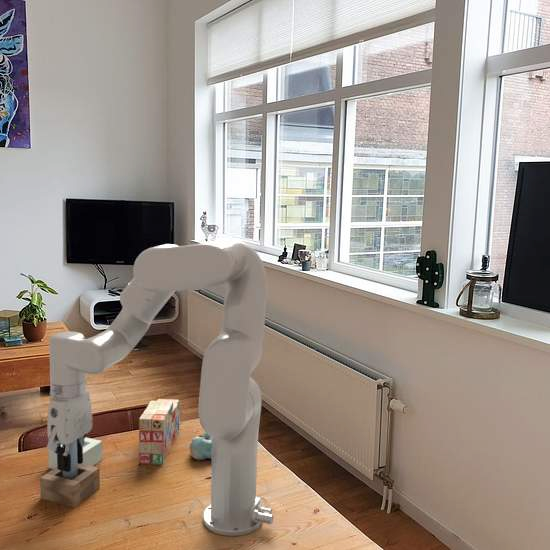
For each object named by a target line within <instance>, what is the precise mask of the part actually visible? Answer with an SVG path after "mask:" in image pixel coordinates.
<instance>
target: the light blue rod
mask: <svg viewBox="0 0 550 550" xmlns="http://www.w3.org/2000/svg"><path fill="white" fill-rule="evenodd" d="M63 446H64V445H63V444H62V448H63ZM68 454H70V455H71V471H69V472H65V471H63V478H66V479H70V480H73V479H74V478H76V477H77V476H78V461H77V440H75V441H73V442H72V443H70V444H69V453H68Z"/></svg>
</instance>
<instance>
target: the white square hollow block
mask: <svg viewBox="0 0 550 550" xmlns="http://www.w3.org/2000/svg"><path fill="white" fill-rule="evenodd" d="M84 442H85V443H84V445H83V446H82V447H83V463H81V464H85V465H89V466H94V467H95V465H97V464H99V463H100V462H101V461H103V457H104V456H103V440H101V439H100V440H99V439H96V438H95V439H94V438H90V437H87V436H86V437H85V439H84ZM61 447H62V444H61ZM56 467H57V454H55V452H54V451H51V450H48V468H49V469H51V470H53V469H55V468H56Z"/></svg>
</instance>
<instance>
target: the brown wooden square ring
mask: <svg viewBox="0 0 550 550" xmlns="http://www.w3.org/2000/svg"><path fill="white" fill-rule="evenodd" d="M100 471H101V470H100V467H98V466H95V465H94V466H89V465H85V464H78V476H77V477H76V478H74V479H73V480H70V479H66V478H63V471H61V470H58V468H57V467H56V468H55V469H51V470H50V471H48V472H47V473H45V474H44V475H42V476H40V477H39V485H40V486H39V487H40V499H41V500H44V501H48V502H52V503H56V504H60V505H63V506H67V507H70V508H75V507H77V506H78V505H79V504H81V503H82V502H83V501H84V500H86V499H87V498H89V497H90V496H91V495H93V494H94V493H95V492H97V491H98V490H99V489H100V488H101V487H100V486H101V485H100V484H101V483H100V481H101V480H100V479H101V478H100Z"/></svg>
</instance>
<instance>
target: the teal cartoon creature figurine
mask: <svg viewBox="0 0 550 550" xmlns="http://www.w3.org/2000/svg"><path fill="white" fill-rule="evenodd" d="M189 444H190V445H189V451H190V455H191V456H192V458H193V459H195V460H197V461H203V460H206V459H210V460H212V437H211V436H209V435H208V434H207V433H206V432H205V431H204V433H203V434H202V435H197V436H196V437H193V438H192V439H191V442H190V443H189Z"/></svg>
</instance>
